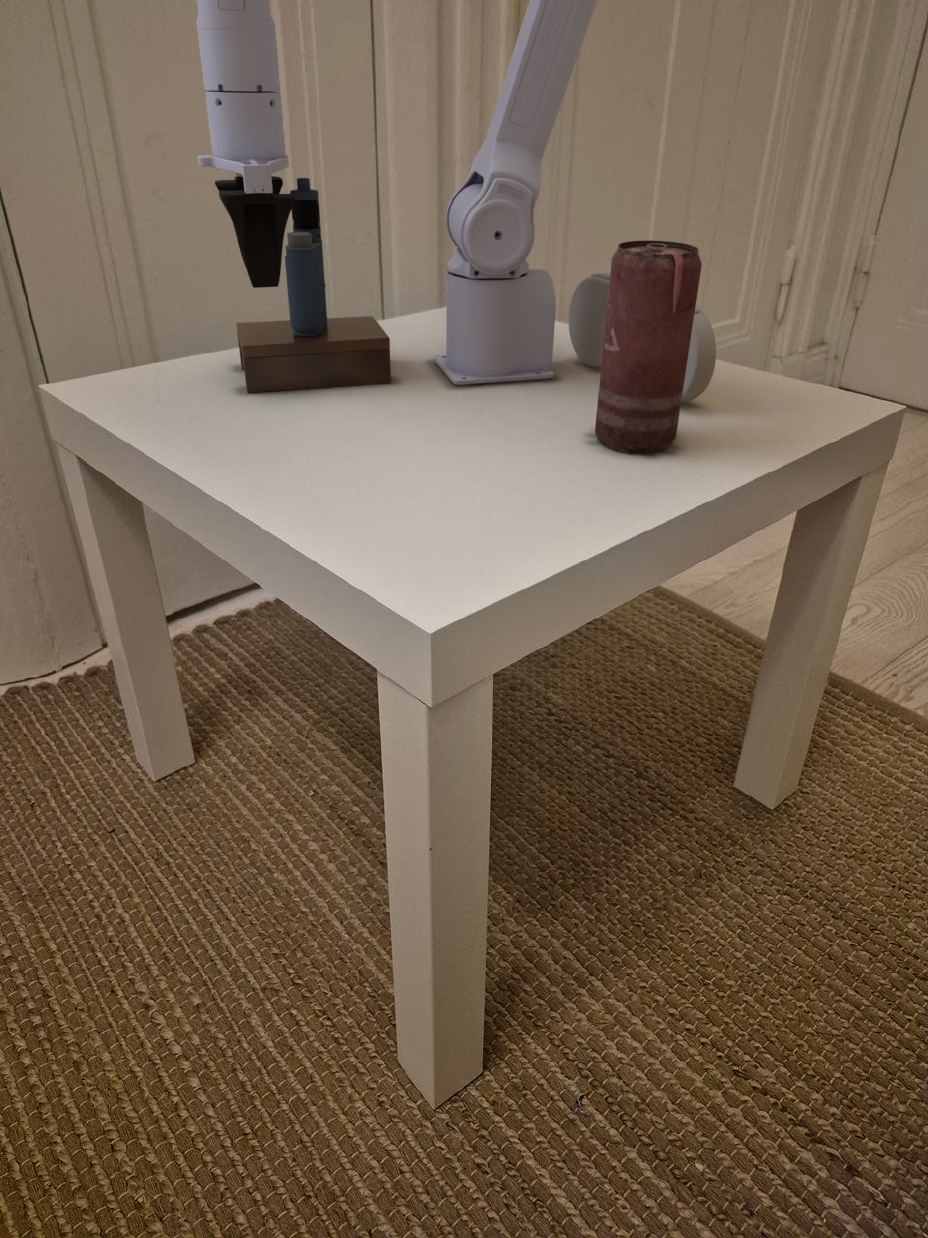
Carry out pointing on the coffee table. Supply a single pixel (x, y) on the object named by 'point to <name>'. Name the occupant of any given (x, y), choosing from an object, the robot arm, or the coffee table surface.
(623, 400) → the can
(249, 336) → the brown wooden box
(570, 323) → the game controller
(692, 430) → the coffee table surface
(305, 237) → the vaping device
